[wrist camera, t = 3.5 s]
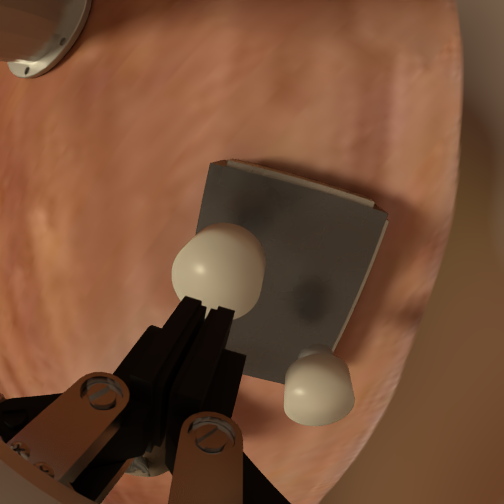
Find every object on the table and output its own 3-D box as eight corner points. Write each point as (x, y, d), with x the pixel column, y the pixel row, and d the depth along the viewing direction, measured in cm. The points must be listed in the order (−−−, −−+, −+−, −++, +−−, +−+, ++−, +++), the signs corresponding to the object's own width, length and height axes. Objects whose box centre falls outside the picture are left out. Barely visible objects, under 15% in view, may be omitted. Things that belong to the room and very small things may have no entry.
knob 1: (205, 205, 16) (178, 226, 12) (276, 224, 16) (272, 252, 12) (193, 270, 18) (167, 306, 14) (258, 288, 18) (249, 330, 14)
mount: (224, 154, 22) (211, 156, 18) (378, 199, 22) (395, 209, 18) (189, 329, 28) (176, 354, 24) (313, 361, 28) (315, 390, 24)
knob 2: (296, 327, 18) (297, 375, 14) (354, 340, 18) (366, 387, 14) (278, 372, 20) (275, 419, 16) (331, 383, 20) (336, 429, 16)
